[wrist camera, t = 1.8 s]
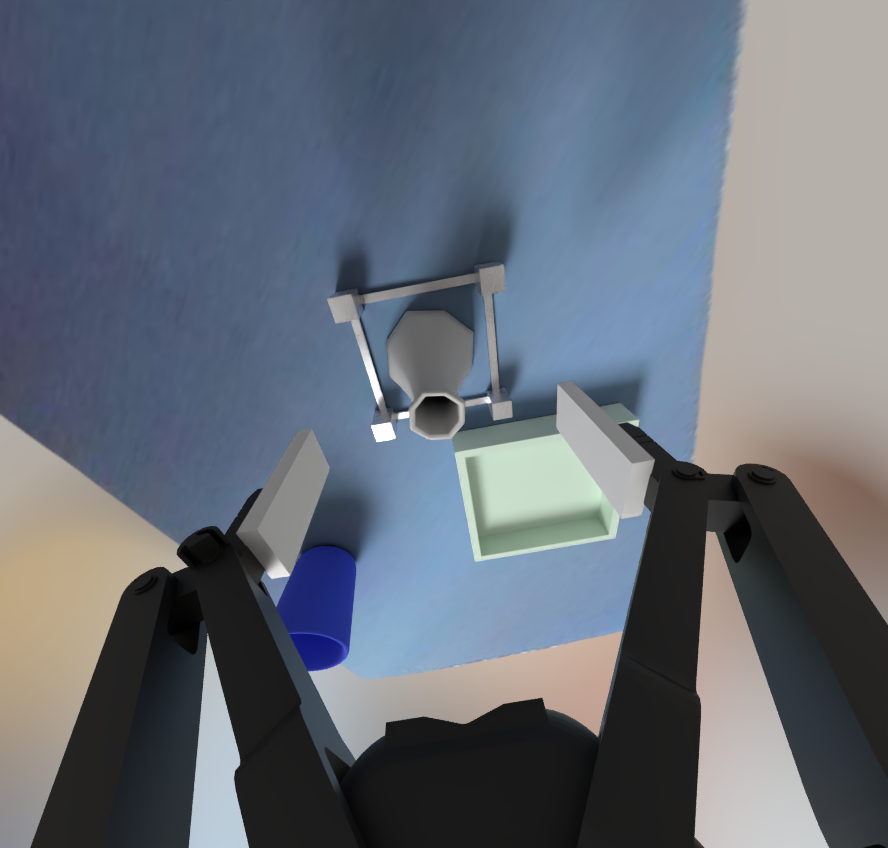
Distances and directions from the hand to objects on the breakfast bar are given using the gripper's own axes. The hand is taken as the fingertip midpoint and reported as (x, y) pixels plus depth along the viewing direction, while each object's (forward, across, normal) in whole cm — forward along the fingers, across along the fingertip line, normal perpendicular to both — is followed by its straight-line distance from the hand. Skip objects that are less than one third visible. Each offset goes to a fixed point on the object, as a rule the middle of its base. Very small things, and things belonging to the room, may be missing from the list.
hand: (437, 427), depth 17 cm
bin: (+11, +9, -15) cm, 21 cm away
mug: (+11, -18, -24) cm, 32 cm away
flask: (+11, 0, +1) cm, 11 cm away
